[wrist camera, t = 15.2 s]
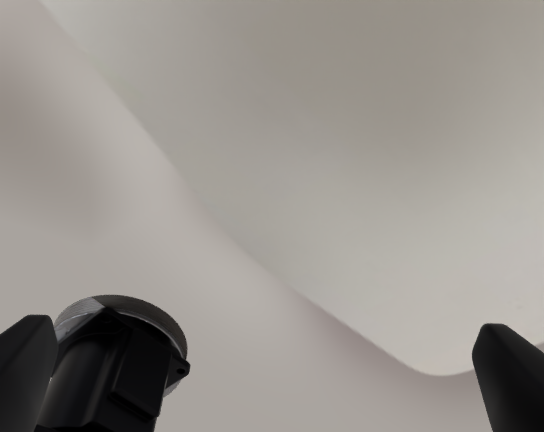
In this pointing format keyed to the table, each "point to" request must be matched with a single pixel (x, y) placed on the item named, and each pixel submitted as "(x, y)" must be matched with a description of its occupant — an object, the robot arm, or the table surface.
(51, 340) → the robot arm
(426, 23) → the table surface
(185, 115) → the table surface
